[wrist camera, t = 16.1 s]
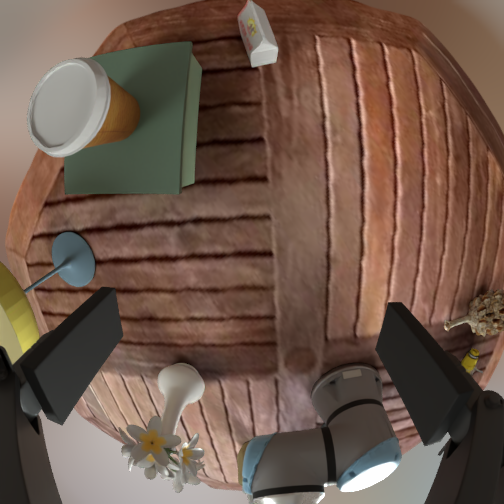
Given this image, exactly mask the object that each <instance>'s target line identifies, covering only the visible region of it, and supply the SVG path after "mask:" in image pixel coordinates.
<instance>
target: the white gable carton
mask: <svg viewBox="0 0 504 504" xmlns="http://www.w3.org/2000/svg"><path fill="white" fill-rule="evenodd" d="M237 17H238V23H239V29H240V34H241V37H242V40H243V42H244V45H245V48H246V51H247V54H248V57H249V60H250V63H251V67H252V68H253V67H257V66H261V65H266V64H271V63H275V62H276V60H277V54H278V45H277V43H276V40H275V37H274V35H273V32H272V29H271V27H270V24H269V21H268V19H267V16H266V14H265V11H264V10H263V9H262V8H260V7H259V6H258V5H256V4H255V3H254V2H253V1H252V0H251V3H250V1H249V0H247V2H246V4H245V6H244V7H243V9H242V10H241V11H240V13H239V14H238V15H237Z"/></svg>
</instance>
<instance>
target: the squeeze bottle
mask: <svg viewBox="0 0 504 504" xmlns="http://www.w3.org/2000/svg"><path fill="white" fill-rule="evenodd" d="M248 444H249V442H246V443H244V444H243V446H242V448H241V450H240V451H239V453H238V456H237V463H238V481H239V484H240V485H242V491H243V493H245V494H247V497H248V501H249V504H255V503H253V495H250V494H248V493H246V492H245V491H244V489H243V484H242V481H243V476H242V469H243V461H244V455H245V451H246V448H247V446H248Z"/></svg>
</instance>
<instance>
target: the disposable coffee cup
mask: <svg viewBox="0 0 504 504" xmlns="http://www.w3.org/2000/svg"><path fill="white" fill-rule="evenodd" d="M139 119H140V107H139V104H138V102H137V100H136V99H135V98H134V97H133V96H132V95H130V94H129V93H128V92H127V91H126V90H124V89H123V88H122V87H121V86H120V85H118V84H117V83H116V82H115V81H114V80H112V79H111V78H110V77H109V76H107V74H106V72H105V70H104V69H103V67H102V66H101V65H100V64H99V63H98V62H96V61H95V60H92V59H90V58H75V59H71V60H66V61H63V62H60V63H58V64H57V65H55V66H54V67H53V68H51V69H50V70H49V71H48V72H47V73H46V74H45V75H44V76H43V77H42V79H41V80H40V81H39V83H38V84H37V86H36V88H35V90H34V92H33V94H32V96H31V99H30V103H29V107H28V113H27V125H28V130H29V134H30V137H31V139H32V141H33V142H34V144H35V145H36V146H37V147H38V148H39V149H41V150H43V151H44V152H45V153H47V154H48V155H50V156H54V157H65V156H69V155H72V154H74V153H76V152H78V151H79V150H81V149H83V148H88V147H92V146H97V145H102V144H107V143H112V142H119V141H122V140H124V139H126V138H127V137H129V136H130V135H131V134H132V133H133V131H134V130H135V129H136V127H137V125H138V122H139Z"/></svg>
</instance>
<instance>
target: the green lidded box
mask: <svg viewBox="0 0 504 504" xmlns="http://www.w3.org/2000/svg"><path fill="white" fill-rule="evenodd" d="M192 47H193V44H192V42H191V41H188V42H176V43H166V44H157V45H150V46H143V47H137V48H131V49H126V50H120V51H115V52H111V53H106V54H102V55H98V56H94V57H90V59H92V60H95V61H96V62H98V63H99V64H100V65H101V66H102V67H103V69H104V70H105V72H106V74H107V76H109V77H110V78H111V79H112V80H114V81H115V82H116V83H117V84H118V85H120V86H121V87H122V88H123V89H124V90H126V91H127V92H128V93H129V94H130V95H132V96H133V97H134V98H135V99H136V100H137V102H138V104H139V107H140V119H139V122H138V125H137V127H136V129H135V130H134V131H133V133H132V134H131V135H130V136H129V137H127V138H126V139H124V140H122V141H119V142H112V143H107V144H102V145H97V146H92V147H88V148H83V149H81V150H79V151H78V152H76V153H74V154H72V155H69V156H65V160H64V181H65V194H181V193H182V187H184V186H187V185H190V184H193V183H194V177H195V155H196V137H197V122H198V109H199V97H200V86H201V76H202V68H201V66H200V65H199V63H198V62H197V60H196V59H195V57H194V56H193V54H192Z"/></svg>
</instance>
